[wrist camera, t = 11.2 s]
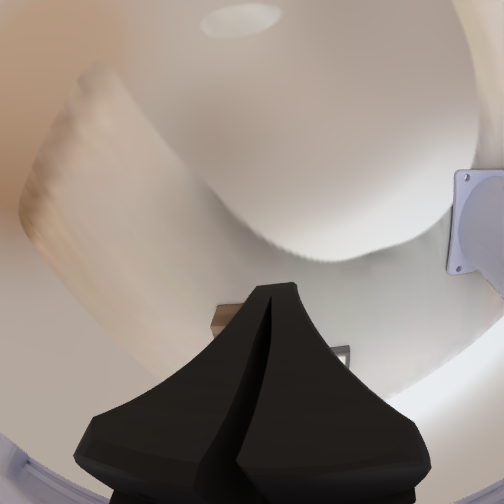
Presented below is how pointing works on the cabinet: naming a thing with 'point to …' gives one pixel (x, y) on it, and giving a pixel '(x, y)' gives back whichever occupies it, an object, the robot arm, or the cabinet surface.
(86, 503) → the robot arm
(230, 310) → the button collar
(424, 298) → the cabinet surface
